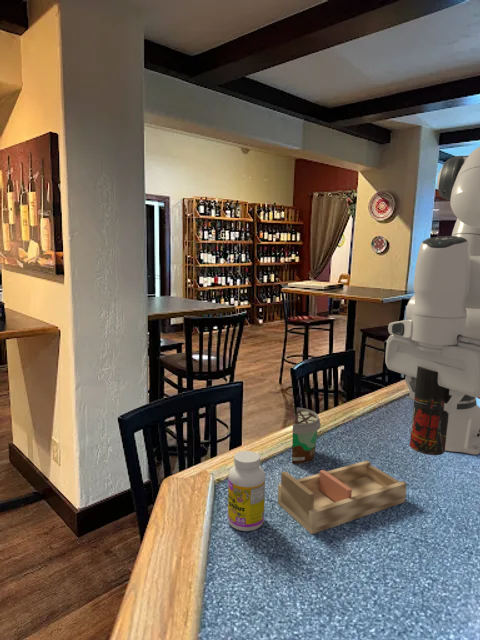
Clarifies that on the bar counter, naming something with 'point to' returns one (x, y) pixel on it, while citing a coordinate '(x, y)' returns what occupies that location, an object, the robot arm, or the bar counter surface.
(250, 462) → the supplement bottle
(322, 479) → the plate
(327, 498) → the tray
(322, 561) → the bar counter surface
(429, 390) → the deodorant
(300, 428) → the food container
